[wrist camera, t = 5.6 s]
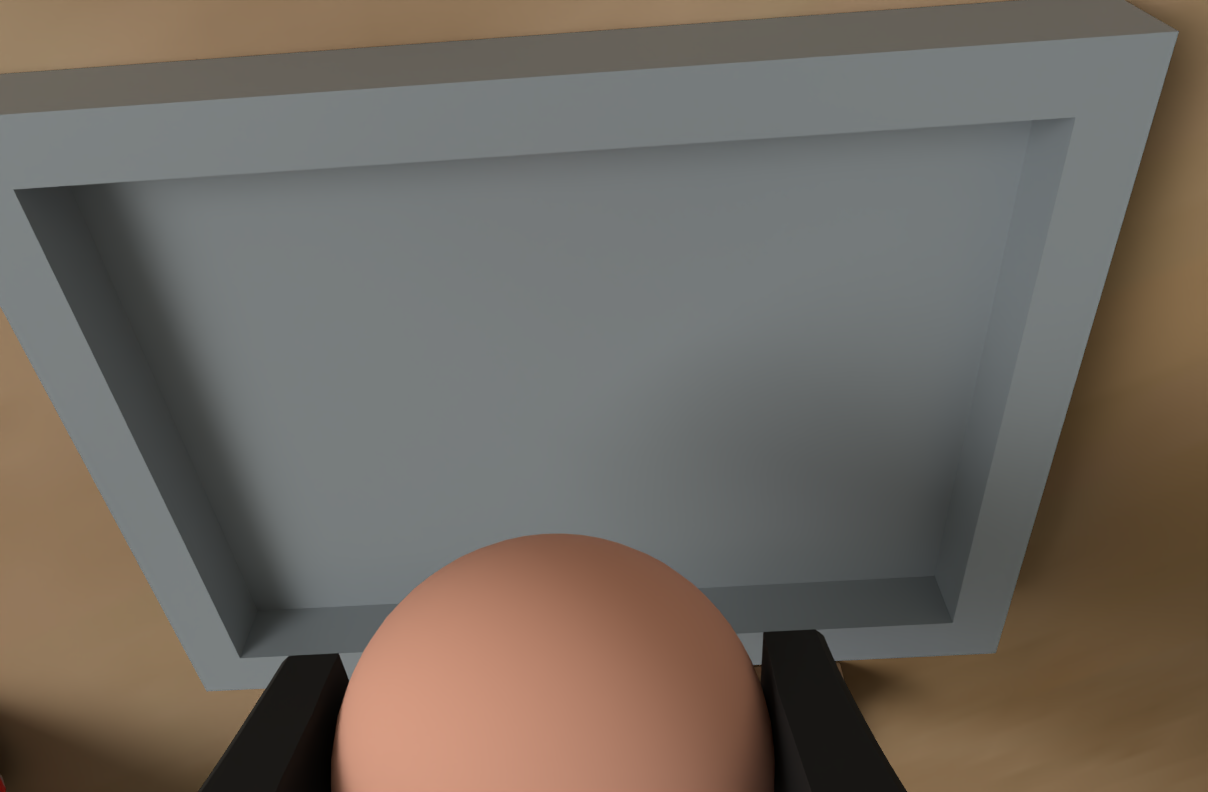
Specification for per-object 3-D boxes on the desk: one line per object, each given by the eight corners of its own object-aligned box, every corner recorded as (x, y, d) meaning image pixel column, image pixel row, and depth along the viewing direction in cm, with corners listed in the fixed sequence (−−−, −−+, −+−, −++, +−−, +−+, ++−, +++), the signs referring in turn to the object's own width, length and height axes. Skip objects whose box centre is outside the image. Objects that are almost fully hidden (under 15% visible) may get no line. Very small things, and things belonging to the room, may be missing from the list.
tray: (1113, -6, 13) (1178, 31, 11) (966, 584, 20) (995, 652, 18) (-24, 75, 13) (-99, 121, 12) (234, 621, 20) (207, 691, 19)
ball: (746, 433, 11) (837, 844, 7) (739, 686, 14) (801, 1074, 10) (334, 461, 11) (199, 878, 7) (414, 705, 14) (350, 1096, 10)
